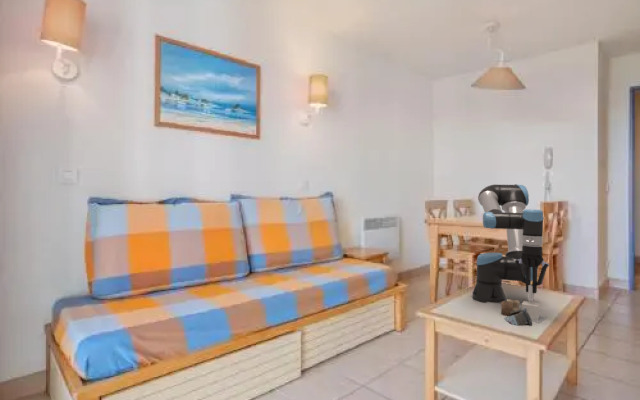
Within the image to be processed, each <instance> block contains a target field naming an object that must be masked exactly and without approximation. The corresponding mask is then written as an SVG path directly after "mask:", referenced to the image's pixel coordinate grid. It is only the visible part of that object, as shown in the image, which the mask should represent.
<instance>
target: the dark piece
mask: <svg viewBox="0 0 640 400" xmlns="http://www.w3.org/2000/svg"><path fill="white" fill-rule="evenodd" d="M503 320H505V321H506V322H508V323H510V324H511V325H512V326H517V327H520V326H523V327H524V326H525V325H528V326H533V322H532V319H531V318H530V315H529V314H528V312H527V310H526V308H524V309H522V308H519V310H516V311H511V312H510V316H505V317H504V318H503Z"/></svg>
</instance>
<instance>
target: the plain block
mask: <svg viewBox="0 0 640 400" xmlns="http://www.w3.org/2000/svg"><path fill="white" fill-rule="evenodd" d="M540 304H541V303H540V302H536V301H535V302H533V301H528V300H523V301H522V303H521V309H524V308H526V310H527V312H528V314H529V315H530V318H531V319H532V320H536V321H538V319H539V316H540V310H541V309H540Z"/></svg>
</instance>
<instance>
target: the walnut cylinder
mask: <svg viewBox="0 0 640 400" xmlns="http://www.w3.org/2000/svg"><path fill="white" fill-rule="evenodd" d="M511 311H513V303H512V302H509V301H507V300H505V301H502V302H501V311H500V313H501V315H502V316H504V317H509V316H510V312H511Z"/></svg>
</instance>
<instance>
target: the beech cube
mask: <svg viewBox="0 0 640 400" xmlns="http://www.w3.org/2000/svg"><path fill="white" fill-rule="evenodd" d="M506 301H509V302H512V303H513V311H516V310H519V309H520V300H517V299H509V298H507V299H506Z"/></svg>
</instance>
